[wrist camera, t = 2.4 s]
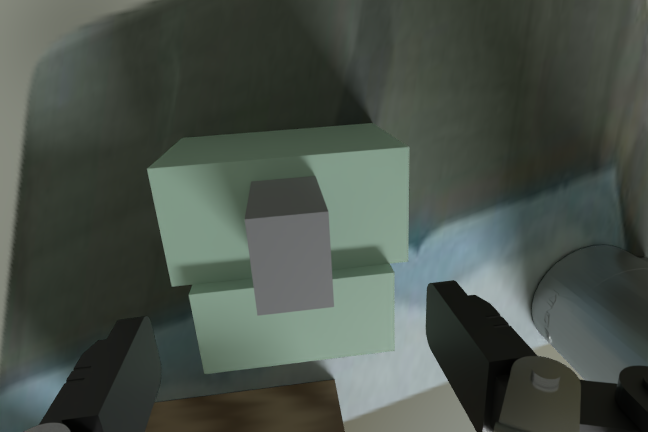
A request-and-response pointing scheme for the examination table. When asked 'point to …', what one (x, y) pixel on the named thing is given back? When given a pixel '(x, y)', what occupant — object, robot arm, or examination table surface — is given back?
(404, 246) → the green box
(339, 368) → the examination table surface
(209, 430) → the wall board
